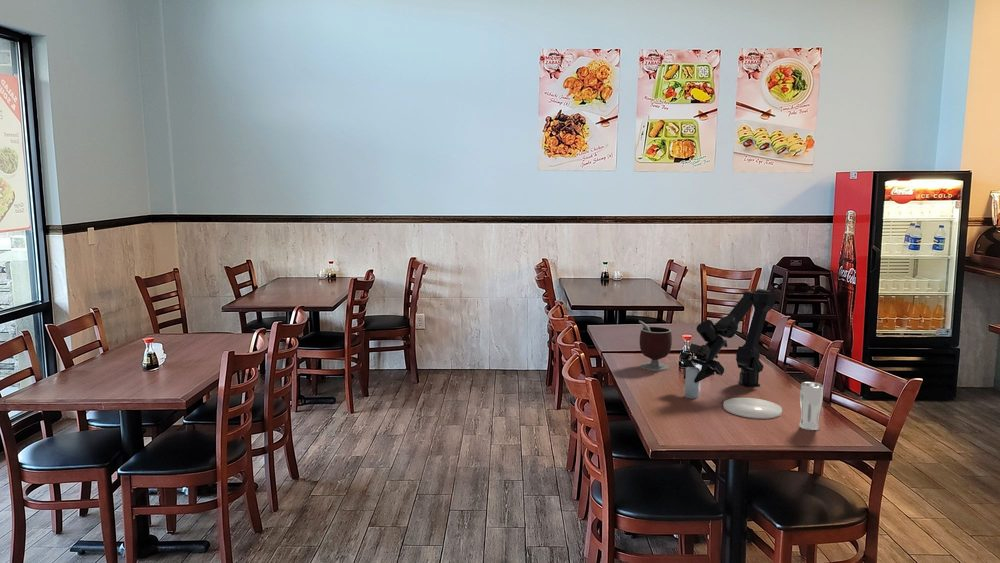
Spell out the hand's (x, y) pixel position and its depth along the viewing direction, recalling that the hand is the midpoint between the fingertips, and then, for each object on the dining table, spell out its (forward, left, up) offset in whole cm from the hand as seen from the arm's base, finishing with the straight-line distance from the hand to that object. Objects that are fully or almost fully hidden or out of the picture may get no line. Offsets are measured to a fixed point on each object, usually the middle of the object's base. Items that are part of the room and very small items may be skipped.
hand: (689, 380), depth 266 cm
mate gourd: (-1, -44, -7) cm, 44 cm away
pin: (-1, -1, -7) cm, 7 cm away
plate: (-17, +16, -7) cm, 25 cm away
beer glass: (-27, +36, -7) cm, 46 cm away
